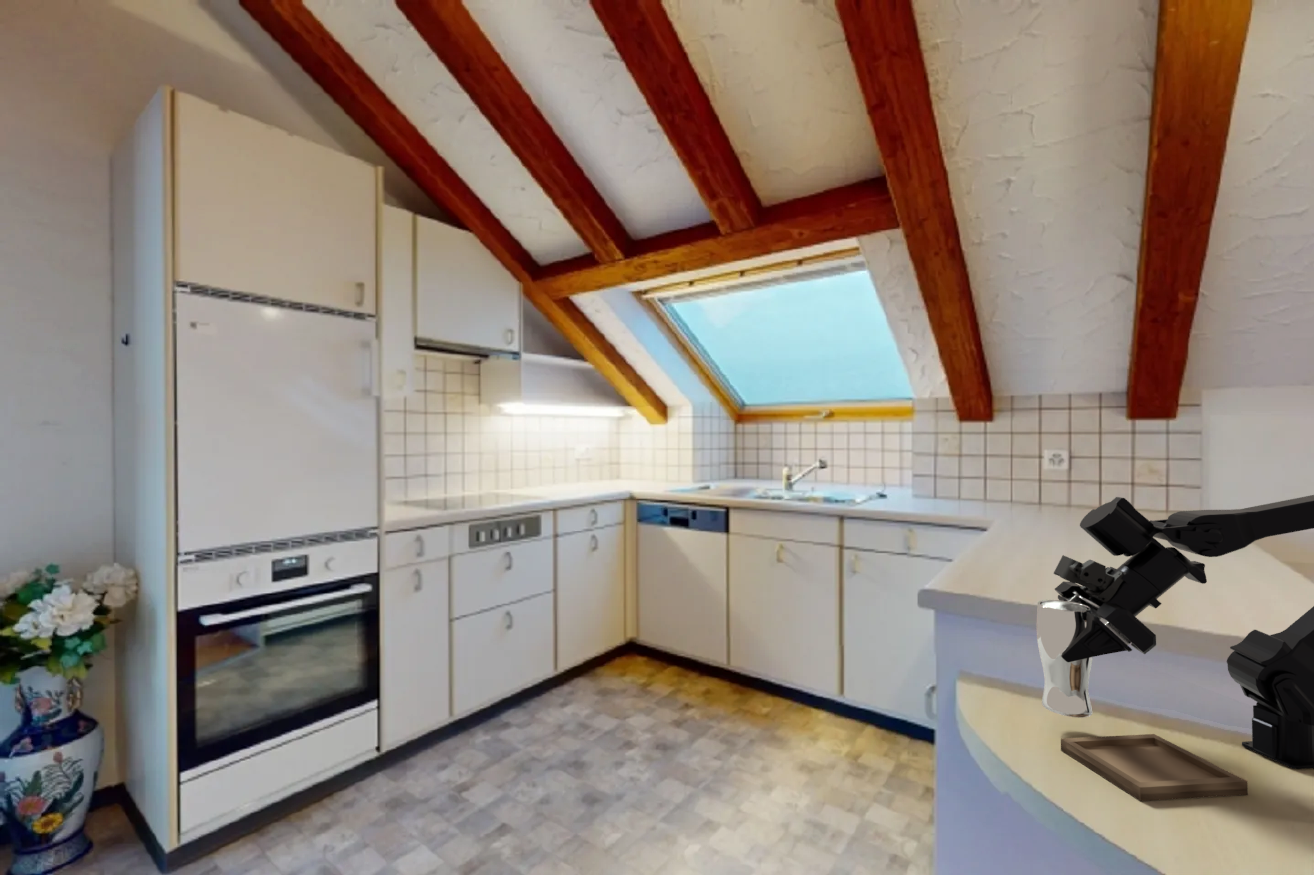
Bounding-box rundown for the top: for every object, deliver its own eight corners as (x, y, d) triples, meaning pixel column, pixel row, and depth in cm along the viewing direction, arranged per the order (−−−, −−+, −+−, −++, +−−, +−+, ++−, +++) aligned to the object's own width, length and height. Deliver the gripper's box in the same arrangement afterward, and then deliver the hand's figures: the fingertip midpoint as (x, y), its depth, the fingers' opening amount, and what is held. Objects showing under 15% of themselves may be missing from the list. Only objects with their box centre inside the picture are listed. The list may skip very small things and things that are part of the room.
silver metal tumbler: (1106, 721, 83) (1103, 612, 83) (1050, 717, 84) (1048, 610, 85) (1081, 700, 90) (1078, 600, 90) (1030, 697, 91) (1028, 598, 92)
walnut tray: (1154, 745, 83) (1154, 733, 83) (1247, 794, 71) (1247, 781, 71) (1060, 750, 82) (1060, 738, 82) (1140, 801, 70) (1140, 787, 70)
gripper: (1068, 530, 96) (992, 595, 98) (1125, 548, 78) (1031, 627, 80) (1126, 582, 93) (1048, 647, 96) (1200, 613, 75) (1101, 692, 78)
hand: (1054, 651), depth 88 cm, fingers closed on silver metal tumbler, 7 cm apart
